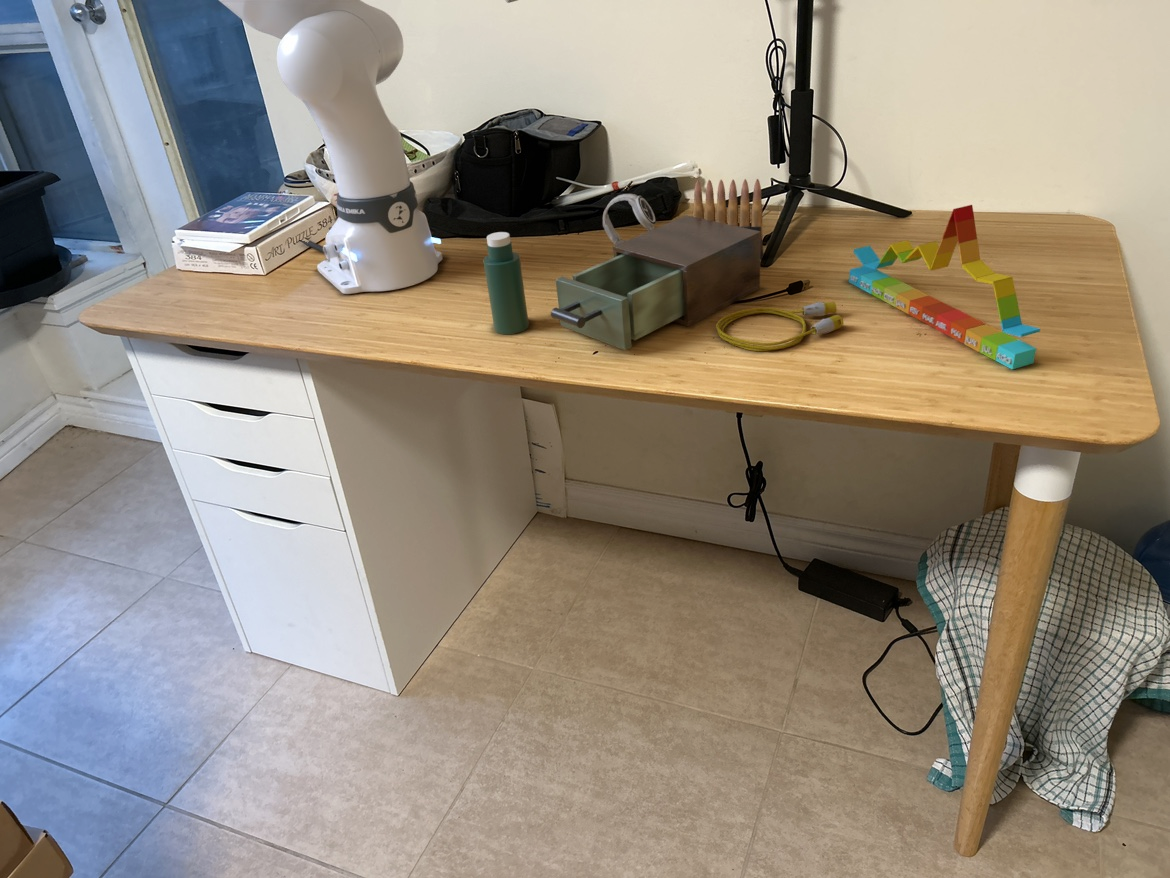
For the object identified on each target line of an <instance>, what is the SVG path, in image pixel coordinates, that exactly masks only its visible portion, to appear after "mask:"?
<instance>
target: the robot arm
mask: <svg viewBox="0 0 1170 878" xmlns="http://www.w3.org/2000/svg"><path fill="white" fill-rule="evenodd" d="M218 1H219V2H220V3H221V4H222V5H223V6H225V7H226V8H227V9H228V10H230V11H231V12H232V13H233V14H235V16H237V17H238V18H239V19H241V20H242V22H244V23H245V24H247V25H248V26H249V27H251V29H254V30H255V31H258V32H261V33H264V34H266V35H270V36H272V37H275V38H277V39H279V40H280V41H279V44H278V46H277V49H276V66H277V70H278V73H279V76H280V78H281V80H282V82H283V84H284V85H285V86H286V88H287V89H288V90H289V92H291V94H293V95H294V96H295V97H296V98H298V99H299V100H301V102H302V103H303V104H304V105H305V107H306V108H307V110H308V112H309V113H310V115H311V116H312V119H313V120H314V122H315V124H316V126H317V128H318V131H319V132H320V134H321V137H322V139H323V142H324V145H325V147H326V150H327V154H328V158H329V160H330V165H331V170H332V173H333V177H334V180H335V184H336V188H337V193H333V197H336V198H335V199H334V201H335V202H336V203H335V204H336V206H335V207H336V213H337V214H336V215H337V217H338V218H336V220H335V222H334V223H333V225H332V226H330V227H328V231H327V233H326V235H325V244H323V245H320V244H318V243H317V242H313V241H311V240H310V241H309V242H308V243H307V242H305V241H302V242H301V243H303V244H304V245H306V246H307V247H310V248H312V249H315V250H316V251H319V252H320V253H322V254H324V256H325V258H326V259H324V260H322V261H321V262H320V263H318V264H317V266H316V267H317V272H319V274H321V276H323V277H324V278H325V279H326V280H327V281H328V282H329V283H330V284H331V285H332V286H334V288H336V289H337V290H338V291H339V292H341V293H342V294H344V295H351V294H357V293H363V292H365V293H366V292H387V291H394V290H399V289H404V288H407V287H411V286H414V285H418V284H420V283H422V282H424V281H427V280H429V279H430V278H431V277H433V276H434V275H435V274H437V272H438V269H439V263H440V262H442V261H443V259H444V258H443V253H442V252H441V251H438V250H436V248H435V244H438V245H440V244H442V241H441V238H438V237H432V232H431V230H430V225H429V223H428V218H427V216H426V214H425V213H424V212H423V211H421V210H420V209H418V208H417V207H418V205H419V203H418V199H417V196H418V195H417V192H416V189H415V185H414V183H413V182H412V181H411V179H410V174H409V169H408V164H407V163H408V162H407V159H406V155H405V149H404V148H405V147H404V145H403V139H402V135H401V132H400V130H399V128H398V127H397V126H396V125H395V124H394V123H393V122H391V119H390V118H389V117H388V115H387V113H386V110H385V109H384V107H383V104H382V101H381V100H380V97H379V94H378V91H377V85H380V84H381V83H383V82H385V81H386V80H388V78H390V76H392V74H393V73H394V72H395V70H396V69H397V68H398V66H399V64H400V62H401V60H402V58H403V54H404V38H403V34H402V30H401V29H400V27H399V25H398V24H397V22H396V20H395V19H394V18H393V17H392V16H391V15H390V14H389V13H387V12H385V11H383V10H382V9H380V8H377V7H375V6H372V5H370V4H368V3H365V2H364V1H362V0H218ZM517 1H518V0H504V2H505V3H506V4H507V3H508V4H510V3H513V2H517Z"/></svg>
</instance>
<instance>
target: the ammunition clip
mask: <svg viewBox="0 0 1170 878" xmlns="http://www.w3.org/2000/svg"><path fill="white" fill-rule="evenodd" d="M728 190H729V192H728V204H727V202H726V201H727V199H726V188H725V184H724V181H723V179H720V180H719V182H718V186H717V191H716V192H717V193H716V206H715V198H714V197H715V196H714V195H715V193H714V187H713V182H712V181H711V180H710V179H708V180H707V183H706V188H705V203H704V201H703V192H702V185H701V183H700V181H699V179H697V180H696V181H695V185H694V192H693V193H694V194H693V198H694V199H693V208H692V217H697V218H701V219H706V220H710V221H715V222H719V223H724V224H729V225H733V226H738V227H742V228H747V229H751V230H756V231H761V236H760V237H761V250H760V260H762V259H763V257H764V244H763V243H764V241H763V212H764V211H763V204H762V186H761V182H760V180H759V178H756V179H755V182H754V186H753V191H752V205H750V189H749V184H748V181H747V179H746V178H744V180H743V181H742V184H741V191H740V204H738V190H737V185H736V182H735V179H733V178H732V180H731V181H730V185H729V189H728Z"/></svg>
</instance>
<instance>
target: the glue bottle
mask: <svg viewBox="0 0 1170 878" xmlns="http://www.w3.org/2000/svg"><path fill="white" fill-rule="evenodd" d="M512 244H513V243H512V240H511V235H510V233H509V232H506V231H498V232H493V233H490V234H487V236H486V249H487V254H488V255H486V256H485V257H484V258H483V260H482V262H483V267H484V274H485V281H486V286H487V292H488V298H489V305H490V312H491V317H492V323H493V329H494V332H496V333H497V334H500V335H516V334H519V333H522V332H524V331H526V330H527V329H528V328H529V326H530V322H529V316H528V315H529V314H528V308H527V302H526V301H527V300H526V293H525V286H524V279H523V272H522V271H523V270H522V265H521V257H520V254H519V253H517V252H514V251H513V245H512Z"/></svg>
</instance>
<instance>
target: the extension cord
mask: <svg viewBox="0 0 1170 878" xmlns="http://www.w3.org/2000/svg"><path fill="white" fill-rule="evenodd" d="M801 313H802V315H803V316H808V317H818V318H819V317H824V316H826V315H832V316H830V317H826V318H822V319H821V320H819V321H817V323H814V325H812V326H811V327H810V330H808V331H807V325H806V321H805V319H804V317H802V316H800V315H798V314H801ZM836 313H837V304H836V302H835V301H830V302H829V301H828V302H825V301H821V302H818V301H816V302H815V303H811V304H808V305H804V306H802V309H799V310H783V309H780V308H777V307H766V306H765V307H762V306H761V307H751V308H747V309H742V310H738V311H733V312H732V313H729V314H727V315H725V316H723V317H721V318H720V319H719V320H718V321H717V322H716V324H715V328H716V330H717V335H718V336H719V337H720V338H721V339H722V340H724V341H726V342H727V343H729V344H730V345H733V346H735V347H738V348H740V349H743V350H748V351H751V352H752V351H754V352H768V351H777V350H783V349H787V348H790V347H792V346H795V345H797V344H799V343H800V342H801V341H802V340H803V339H804V337H805V336H807V335H809V334H813V335H816V336H817V335H823V334H825V335H828V334H829V333H831V332H833V331H837V330H839V329H841V328H843V326H844V324H845V323H844V319H843V318H842V317H841V316H840V315H839V314H836ZM756 314H772V315H777V316H781V317H785V318H788V319H790V320H794V321H796V322H798V323H800V324H801V325H802V331H801V333H800V334H797V335H795V336H792V337H790V338H787V339H784V340H780V341H775V342H760V341H759V342H758V341H750V340H746V339H741V338H737V337H734V336H731V335H730V334H727V333H725V332H724V330H725V328H726V327H727V326H728V325H729V324H730V323H732V322H733V321H736V320H737V319H740V318H743V317H746V316H751V315H756ZM834 314H836V315H834Z"/></svg>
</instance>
